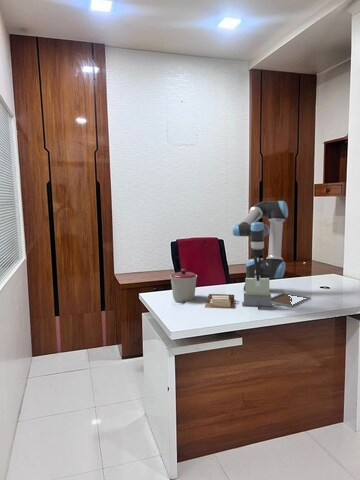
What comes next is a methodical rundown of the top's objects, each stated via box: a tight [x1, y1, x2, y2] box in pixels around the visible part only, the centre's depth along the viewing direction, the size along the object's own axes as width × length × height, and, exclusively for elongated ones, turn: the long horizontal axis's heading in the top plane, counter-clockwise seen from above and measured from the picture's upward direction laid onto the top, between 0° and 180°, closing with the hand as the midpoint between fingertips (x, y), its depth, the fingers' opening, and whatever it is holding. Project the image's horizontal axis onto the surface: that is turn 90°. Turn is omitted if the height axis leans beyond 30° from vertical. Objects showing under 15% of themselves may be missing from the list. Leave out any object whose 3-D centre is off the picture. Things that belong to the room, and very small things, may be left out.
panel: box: [244, 277, 270, 296], centre depth 213 cm, size 2×14×16 cm, turn 80°
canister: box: [169, 268, 198, 303], centre depth 231 cm, size 18×18×21 cm
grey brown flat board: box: [271, 292, 311, 308], centre depth 227 cm, size 19×2×30 cm
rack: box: [204, 293, 237, 310], centre depth 218 cm, size 20×18×6 cm
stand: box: [241, 292, 274, 311], centre depth 214 cm, size 10×18×8 cm, turn 80°
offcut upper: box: [212, 296, 229, 303], centre depth 214 cm, size 7×10×2 cm
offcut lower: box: [210, 299, 231, 307], centre depth 214 cm, size 8×12×2 cm, turn 80°
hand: (257, 283), depth 213 cm, fingers open, 13 cm apart
